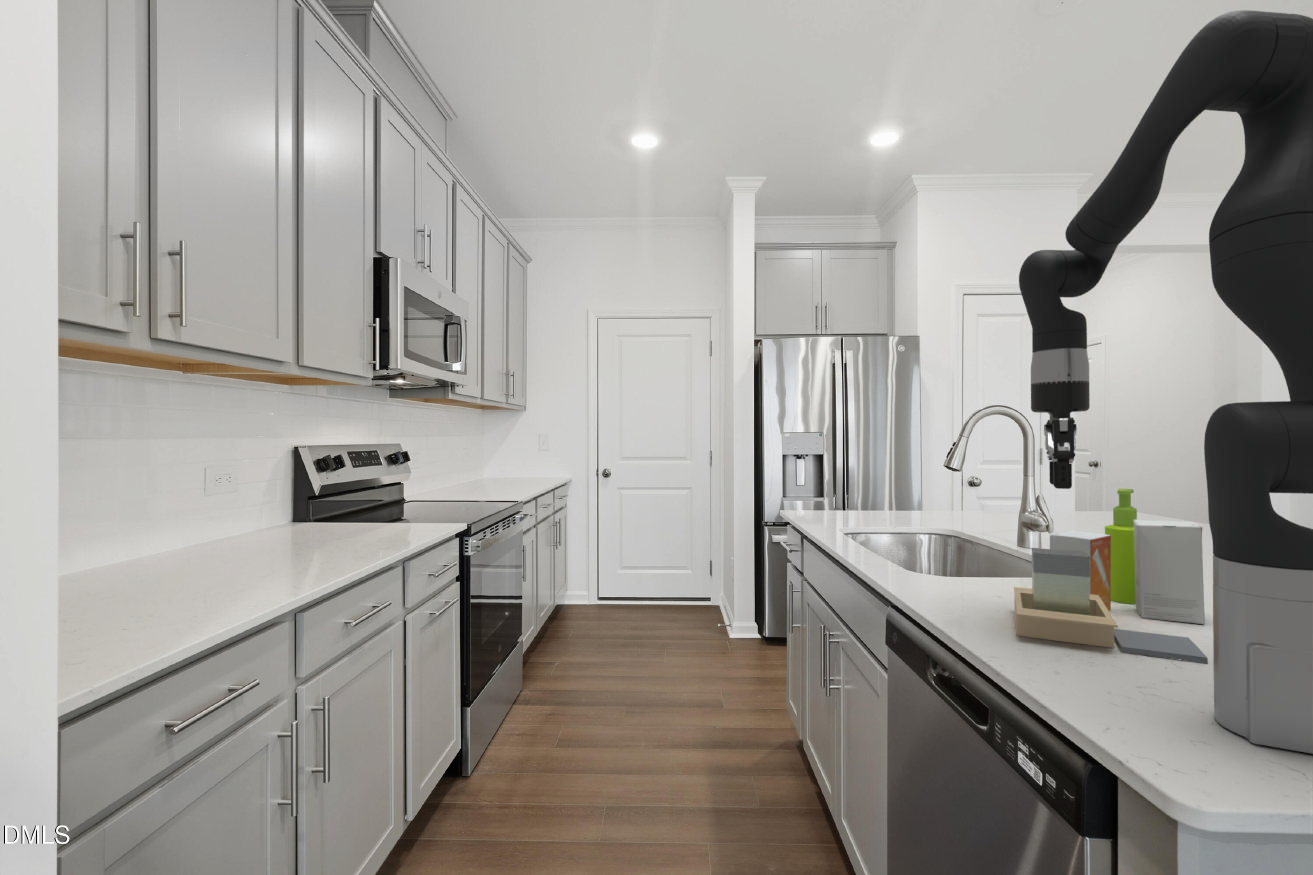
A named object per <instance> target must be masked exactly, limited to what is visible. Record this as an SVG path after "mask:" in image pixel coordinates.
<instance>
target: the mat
mask: <svg viewBox="0 0 1313 875" xmlns="http://www.w3.org/2000/svg"><path fill="white" fill-rule="evenodd" d="M1114 643H1115V644H1116V645H1117V647H1118V648H1119V650H1120V652H1121V653H1125V654H1130V653H1133V654H1132V655H1138V654H1139V655H1140V654H1141V655H1140V656H1145V655H1149V656H1148V657H1153V656H1155V657H1154V658H1160V657H1166V658H1165V659H1168V658H1173V659H1172V660H1176V659H1181V660H1180V661H1183V660H1187V661H1186V662H1191V661H1195V662H1194V663H1198V662H1200V664H1207V665H1208V663H1209V662H1208V656H1207V655H1206V654H1204V652H1203V651H1202V650H1201V649H1200V647H1199V646H1197V645H1196V644H1195V643H1194V641H1193V640H1192V639H1190V637H1187V636H1178V635H1171V634H1162V633H1153V632H1144V631H1138V630H1130V629H1129V630H1128V629H1120V628H1114ZM1139 655H1138V656H1139Z"/></svg>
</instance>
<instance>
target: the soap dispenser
mask: <svg viewBox="0 0 1313 875" xmlns="http://www.w3.org/2000/svg"><path fill="white" fill-rule="evenodd" d="M1116 492H1117V494H1118V505H1117V506H1114V507H1113V508H1112V511H1113V512H1112V513H1113V516H1112V518H1113V519H1112V521H1113V522H1112V524H1110V525H1109V524H1108V525H1104V534H1106V535H1111V602H1114V603H1115V602H1116V603H1118V604H1119V603H1120V604H1127V605H1136V589H1135V555H1134V524H1133V520H1138V513H1137V512H1138V509H1137V508H1135V507H1134V506H1132V504H1131V503H1132V502H1131V501H1132V500H1131V499H1132V498H1131V497H1132V496H1131V494H1133V493H1134V492H1135V491H1134V489H1133V488H1118V489H1117V490H1116Z"/></svg>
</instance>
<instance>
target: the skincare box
mask: <svg viewBox="0 0 1313 875" xmlns="http://www.w3.org/2000/svg"><path fill="white" fill-rule="evenodd" d="M1133 524H1134V555H1135V589H1136V604H1135V608H1136V611H1137V613H1138V614H1139V616H1140V619H1150V620H1159V621H1169V622H1179V623H1190V624H1199V625H1204V624H1205V623H1206V622H1205V621H1206V619H1205V617H1206V614H1205V593H1204V592H1205V591H1204V589H1205V588H1204V587H1205V586H1204V585H1205V584H1204V562H1203V561H1204V560H1203V559H1204V558H1203V556H1204V555H1203V527H1202V526H1201V525H1200V524H1197V522H1194V521H1187V520H1183V521H1181V520H1180V521H1179V520H1153V519H1152V520H1151V519H1137V520H1133Z"/></svg>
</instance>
